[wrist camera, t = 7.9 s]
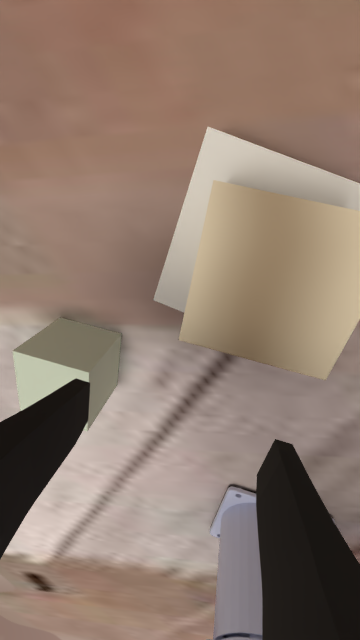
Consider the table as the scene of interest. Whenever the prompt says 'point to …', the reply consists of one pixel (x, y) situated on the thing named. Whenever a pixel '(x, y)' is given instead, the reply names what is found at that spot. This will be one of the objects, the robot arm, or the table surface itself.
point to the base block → (249, 171)
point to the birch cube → (275, 279)
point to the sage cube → (68, 363)
